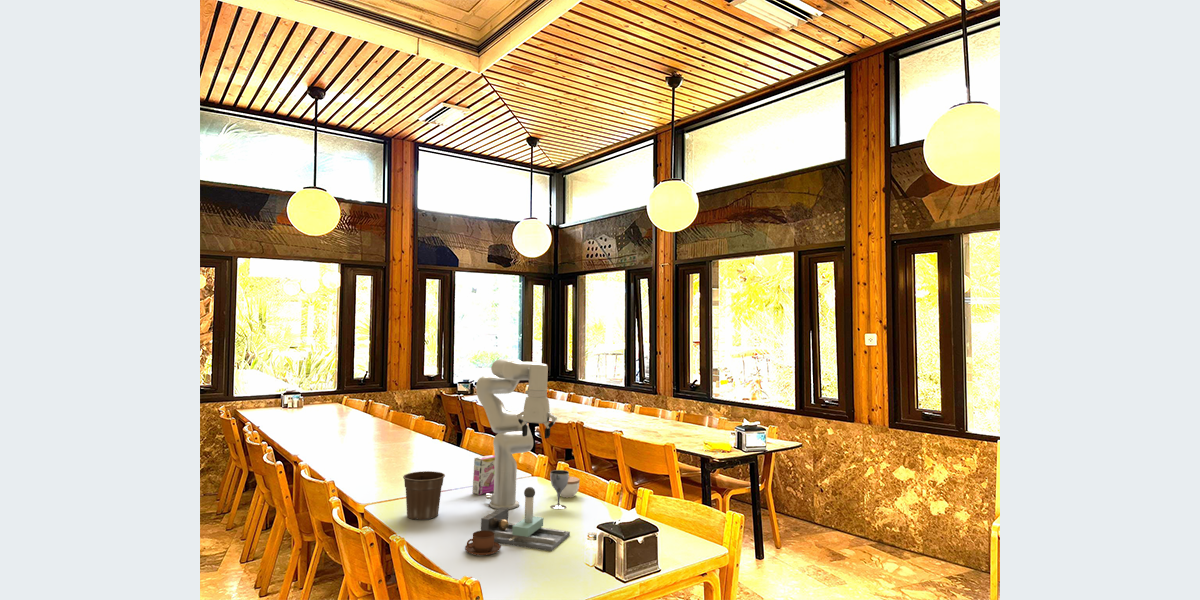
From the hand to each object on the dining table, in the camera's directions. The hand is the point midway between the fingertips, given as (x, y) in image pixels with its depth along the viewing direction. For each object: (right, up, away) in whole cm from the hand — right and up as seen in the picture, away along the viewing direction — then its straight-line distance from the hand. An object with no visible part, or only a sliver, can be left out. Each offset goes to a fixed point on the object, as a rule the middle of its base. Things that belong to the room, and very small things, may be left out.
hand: (535, 436), depth 250 cm
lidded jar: (+11, -36, +38) cm, 54 cm away
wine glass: (+8, -35, +19) cm, 41 cm away
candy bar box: (-28, -35, +39) cm, 59 cm away
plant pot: (-46, -32, 0) cm, 56 cm away
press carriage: (0, -29, -23) cm, 37 cm away
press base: (-2, -32, -23) cm, 39 cm away
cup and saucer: (-14, -31, -38) cm, 51 cm away
